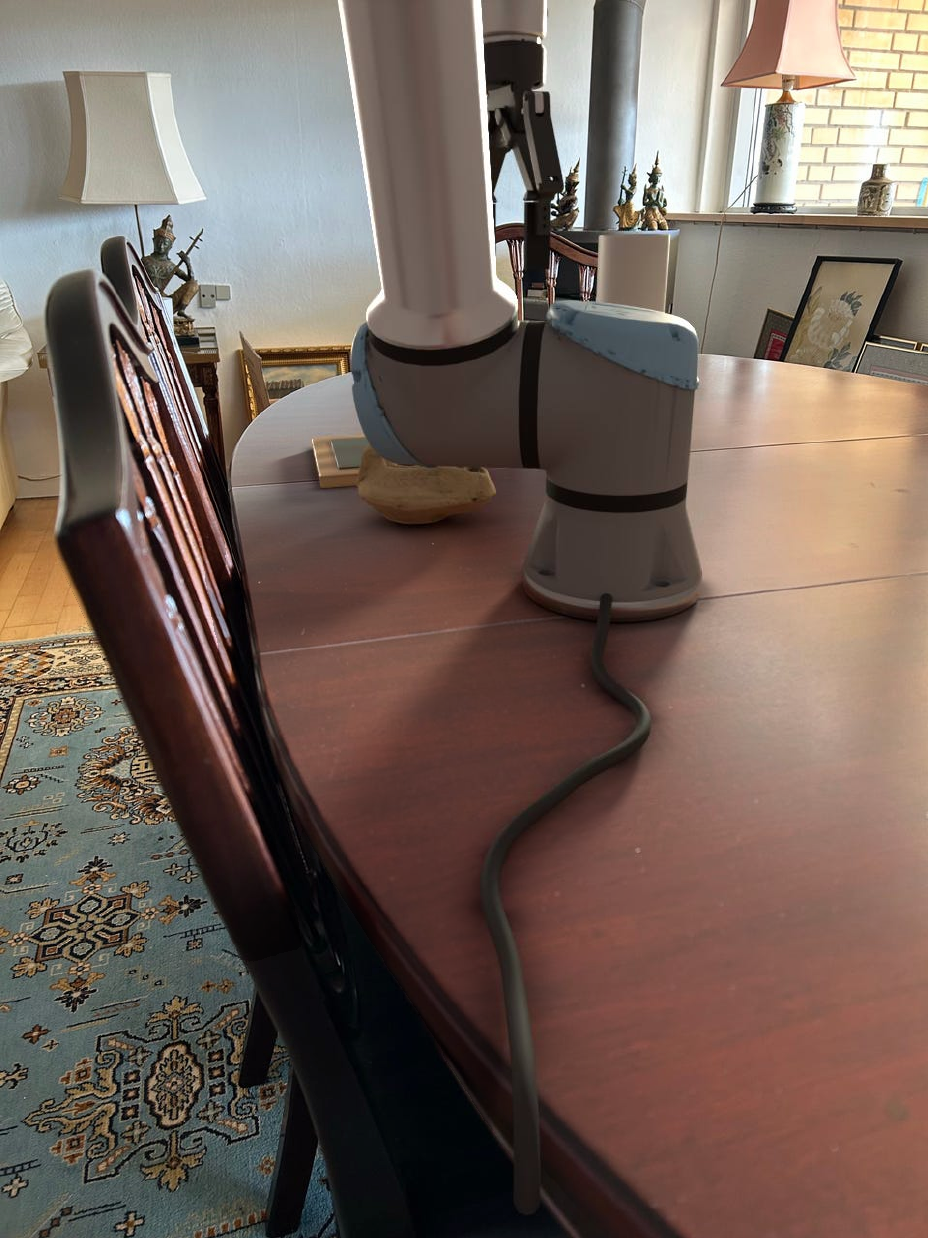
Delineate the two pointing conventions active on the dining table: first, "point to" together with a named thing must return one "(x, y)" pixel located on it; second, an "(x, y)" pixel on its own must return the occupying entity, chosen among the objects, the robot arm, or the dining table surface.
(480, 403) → the robot arm
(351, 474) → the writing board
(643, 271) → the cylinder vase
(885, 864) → the dining table surface
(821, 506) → the dining table surface
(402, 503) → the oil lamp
